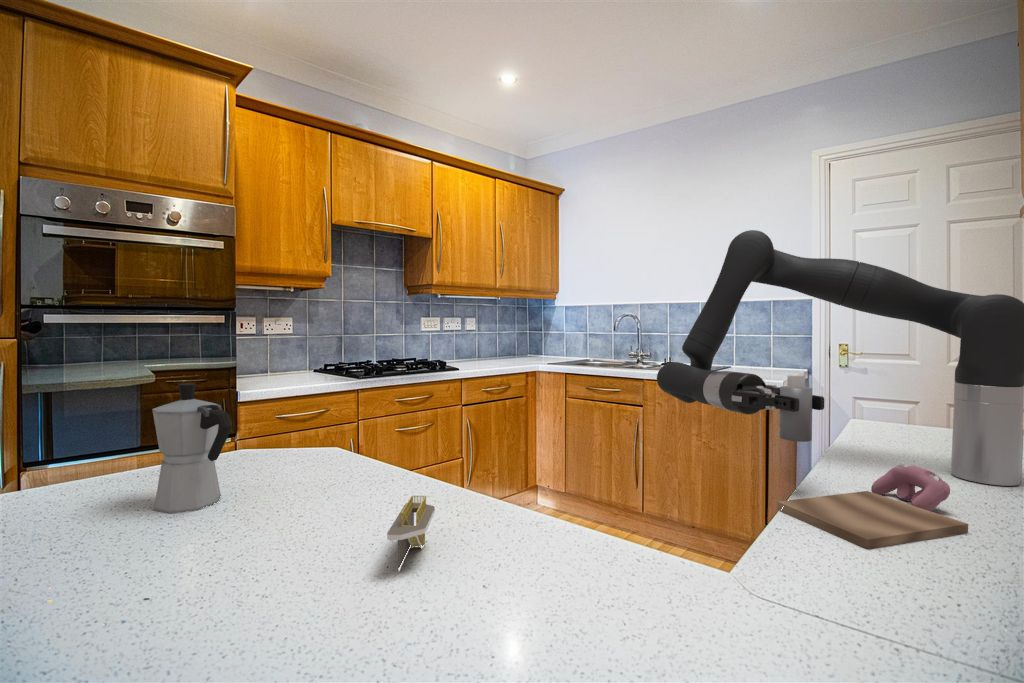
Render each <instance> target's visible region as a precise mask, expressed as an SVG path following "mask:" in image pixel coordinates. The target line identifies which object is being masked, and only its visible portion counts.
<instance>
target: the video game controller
mask: <svg viewBox="0 0 1024 683" xmlns="http://www.w3.org/2000/svg"><path fill="white" fill-rule="evenodd" d="M916 487H918V488H920V490H918V491H916ZM870 489H871V490H870V492H872V493H876V494H879V495H882V496H884V495H886V494H889V493H892V492H893V491H895V490H896V496H897V497H898V498H900V499H901V500H903V501H906V502H910V501H911V503H910V505H912V506H915V507H918V508H921V509H924V510H928V511H931V512H932V511H933V510H935V508H937V507H938V506H939V505H940V504H941V503H943V502H944V501H946V500H947V499H948V497H949V496H950V494H951V487H950V484H948V483H947V482H946V481H944V480H943V479H942V477H940V476H939V475H937V474H936V473H934V472H932V471H931V470H929V469H926V468H924V467H920V466H918V465H917V466H916V465H904V464H902V463H899V464H898V465H897V466H893V467H892V468H891V469H889V470H888V471H887V472H886V473H885V474H884V475H882V476H880V477H879V478H877V479H876V480H875V481H873V483H872V485H871V488H870Z"/></svg>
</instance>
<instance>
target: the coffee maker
mask: <svg viewBox="0 0 1024 683" xmlns="http://www.w3.org/2000/svg"><path fill="white" fill-rule="evenodd" d="M177 387H178V390H179V396H180V399H178V400H176V401H173V402H172V401H171V402H170V403H166V404H163V405H160V406H157V407H155V408H152V409H151V410H152V415H153V422H154V426H155V432H156V438H157V444H158V450H159V452H160V453H161V454H163V460H162V462H161V464H160V471H159V476H158V482H157V489H156V495H155V499H154V500H155V501H154V505H153V506H154V507H153V511H156V512H161V513H165V514H169V515H170V514H171V515H172V514H179V513H178V512H180V513H187V512H186V511H189V512H195V511H194V510H197V511H199V510H198V509H200V510H202V509H201V508H203V507H206V506H208V507H210V506H209V505H211V506H213V505H212V504H214V503H217V502H218V501H219V502H220V500H219V499H221V497H222V494H221V489H220V483H219V478H218V474H217V468H216V464H215V463H216V462H215V461H217V460H218V458H219V457H220V454H221V452H222V450H223V448H224V446H225V443H226V441H227V439H228V437H229V435H230V433H231V431H232V428H233V423H232V421H231V418H230V415H229V413H228V412H227V411H225V410H223V408H222V406H221V405H220V404H217V403H214V402H210V401H206V400H201V399H197V398H195V393H196V387H197V383H193V382H191V383H189V382H186V383H177ZM220 496H221V497H220ZM219 502H218V503H219ZM218 503H217V504H218ZM214 505H215V504H214ZM206 508H207V507H206ZM203 509H204V508H203Z"/></svg>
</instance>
